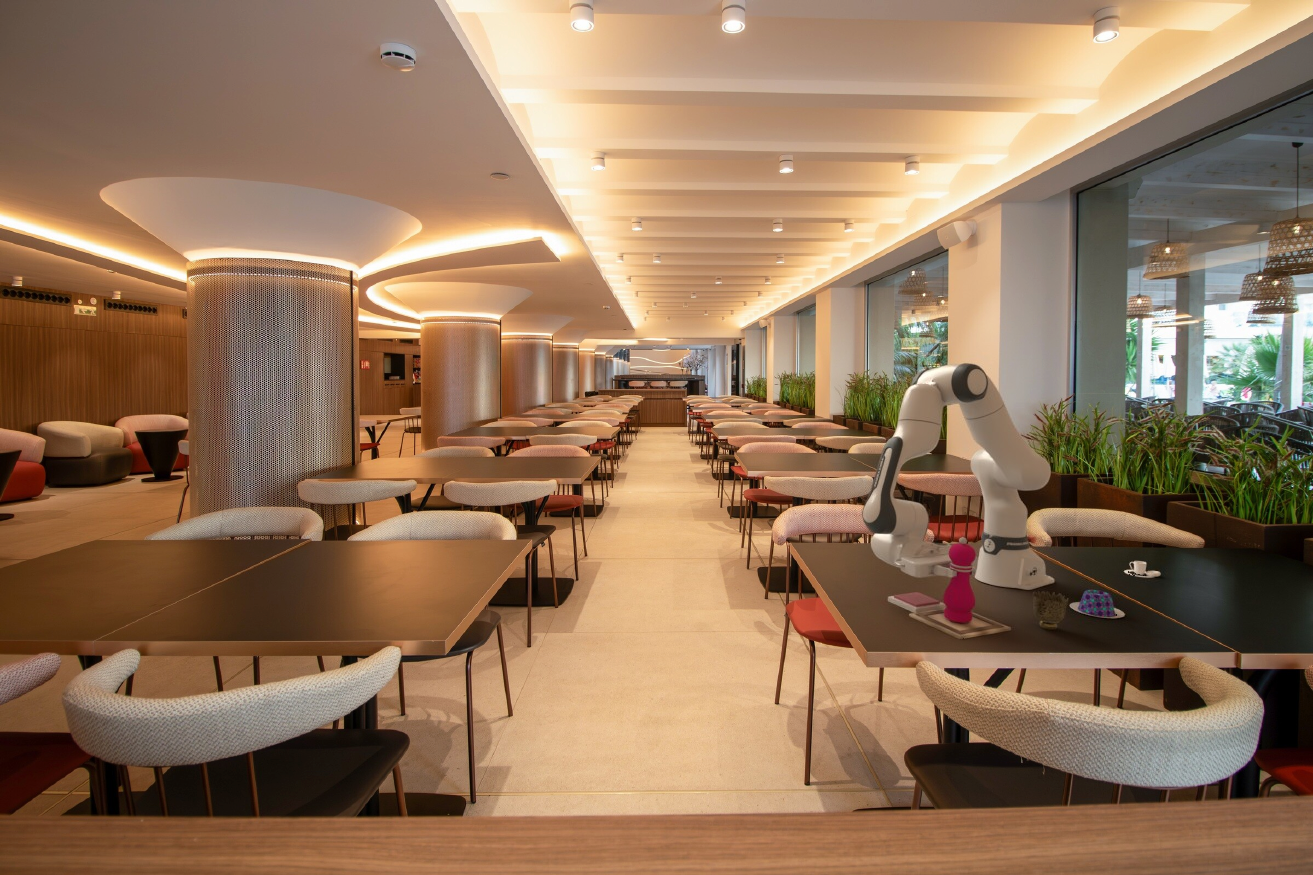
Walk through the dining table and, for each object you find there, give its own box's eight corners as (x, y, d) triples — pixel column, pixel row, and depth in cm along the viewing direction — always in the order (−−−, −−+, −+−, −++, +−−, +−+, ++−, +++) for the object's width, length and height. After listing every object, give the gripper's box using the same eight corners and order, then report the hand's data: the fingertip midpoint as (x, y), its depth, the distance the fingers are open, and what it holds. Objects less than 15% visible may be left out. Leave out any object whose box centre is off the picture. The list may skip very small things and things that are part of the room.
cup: (1071, 634, 160) (1073, 601, 159) (1036, 632, 162) (1038, 598, 161) (1059, 623, 167) (1061, 591, 167) (1026, 621, 169) (1028, 589, 168)
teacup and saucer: (1164, 578, 210) (1165, 565, 209) (1146, 580, 207) (1147, 567, 206) (1135, 570, 218) (1136, 557, 217) (1117, 572, 215) (1119, 560, 214)
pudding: (1098, 604, 184) (1099, 584, 183) (1136, 619, 172) (1138, 599, 172) (1058, 605, 182) (1059, 586, 181) (1094, 621, 170) (1096, 601, 170)
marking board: (957, 608, 177) (957, 605, 177) (1010, 630, 162) (1010, 627, 162) (909, 616, 171) (909, 613, 171) (959, 639, 156) (960, 635, 156)
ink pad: (916, 597, 186) (917, 590, 186) (945, 608, 177) (945, 602, 177) (887, 601, 182) (888, 594, 182) (915, 613, 173) (915, 606, 173)
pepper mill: (973, 615, 169) (979, 535, 167) (974, 625, 162) (980, 542, 160) (942, 611, 172) (947, 532, 170) (941, 620, 165) (946, 539, 163)
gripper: (890, 549, 173) (931, 563, 160) (951, 543, 181) (995, 556, 168) (889, 574, 174) (930, 590, 161) (950, 566, 182) (994, 581, 169)
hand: (964, 572), depth 165 cm, fingers closed on pepper mill, 5 cm apart
